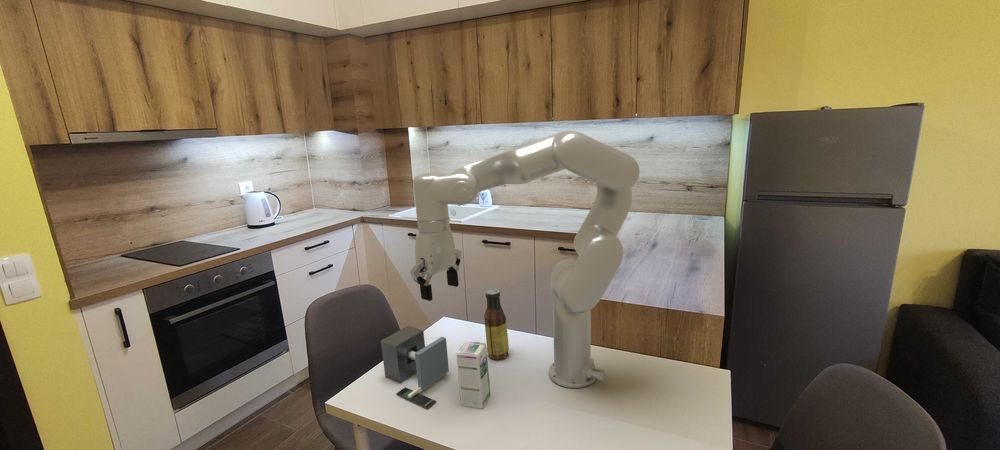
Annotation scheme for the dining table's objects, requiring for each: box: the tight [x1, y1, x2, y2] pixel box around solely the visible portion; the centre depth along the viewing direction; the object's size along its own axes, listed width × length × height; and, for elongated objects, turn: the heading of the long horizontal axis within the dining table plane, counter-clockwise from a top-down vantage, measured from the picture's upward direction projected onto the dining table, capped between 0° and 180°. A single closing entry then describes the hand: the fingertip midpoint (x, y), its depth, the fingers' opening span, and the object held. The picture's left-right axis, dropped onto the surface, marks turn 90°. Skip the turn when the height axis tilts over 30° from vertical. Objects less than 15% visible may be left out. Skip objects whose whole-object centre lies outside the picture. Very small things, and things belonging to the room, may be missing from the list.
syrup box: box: [455, 340, 491, 410], centre depth 108 cm, size 6×6×14 cm
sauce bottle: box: [483, 289, 510, 361], centre depth 127 cm, size 7×6×20 cm
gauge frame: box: [380, 325, 437, 410], centre depth 117 cm, size 20×14×11 cm
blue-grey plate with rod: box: [406, 336, 450, 398], centre depth 118 cm, size 15×14×10 cm
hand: (440, 292), depth 110 cm, fingers open, 9 cm apart
